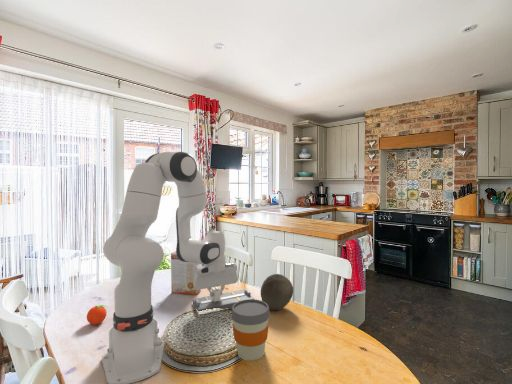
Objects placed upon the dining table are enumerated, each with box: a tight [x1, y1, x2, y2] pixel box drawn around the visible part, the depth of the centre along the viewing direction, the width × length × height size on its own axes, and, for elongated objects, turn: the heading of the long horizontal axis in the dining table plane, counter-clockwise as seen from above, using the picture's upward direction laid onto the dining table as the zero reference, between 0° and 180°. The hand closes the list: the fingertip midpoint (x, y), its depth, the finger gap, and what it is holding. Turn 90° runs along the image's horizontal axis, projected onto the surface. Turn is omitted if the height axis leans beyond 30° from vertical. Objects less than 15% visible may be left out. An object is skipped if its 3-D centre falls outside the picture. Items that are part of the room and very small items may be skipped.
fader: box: [211, 286, 221, 302], centre depth 122 cm, size 5×3×5 cm, turn 25°
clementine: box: [86, 304, 108, 326], centre depth 107 cm, size 8×7×7 cm
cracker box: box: [170, 250, 202, 296], centre depth 138 cm, size 14×6×21 cm, turn 78°
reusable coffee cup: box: [231, 298, 270, 361], centre depth 88 cm, size 12×13×15 cm
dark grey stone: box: [260, 273, 294, 311], centre depth 118 cm, size 14×14×15 cm
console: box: [192, 288, 255, 311], centre depth 124 cm, size 12×26×4 cm, turn 115°
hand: (216, 295), depth 122 cm, fingers closed on fader, 3 cm apart
